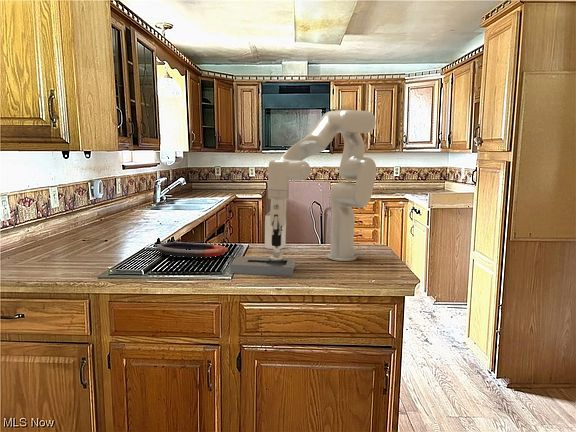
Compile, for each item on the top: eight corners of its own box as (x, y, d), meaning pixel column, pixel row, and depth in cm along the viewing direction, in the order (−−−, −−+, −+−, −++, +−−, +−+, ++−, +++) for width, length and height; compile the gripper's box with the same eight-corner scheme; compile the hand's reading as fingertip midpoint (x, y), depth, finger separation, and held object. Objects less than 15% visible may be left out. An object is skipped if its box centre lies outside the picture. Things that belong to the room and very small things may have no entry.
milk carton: (264, 248, 196) (265, 207, 194) (272, 245, 203) (272, 205, 200) (278, 250, 193) (278, 208, 190) (285, 247, 199) (286, 206, 197)
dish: (168, 249, 190) (167, 238, 190) (233, 255, 183) (233, 243, 183) (148, 257, 175) (148, 245, 175) (219, 263, 168) (219, 251, 168)
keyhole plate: (294, 267, 165) (295, 258, 164) (291, 276, 152) (291, 267, 151) (238, 264, 167) (238, 256, 166) (230, 273, 154) (230, 264, 154)
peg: (283, 258, 160) (284, 229, 159) (282, 261, 155) (283, 231, 154) (270, 257, 161) (271, 228, 159) (269, 260, 156) (269, 230, 154)
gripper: (286, 196, 146) (284, 249, 149) (291, 193, 163) (289, 240, 165) (264, 196, 147) (263, 248, 149) (271, 192, 163) (270, 240, 166)
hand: (277, 244), depth 157 cm, fingers closed on peg, 4 cm apart
